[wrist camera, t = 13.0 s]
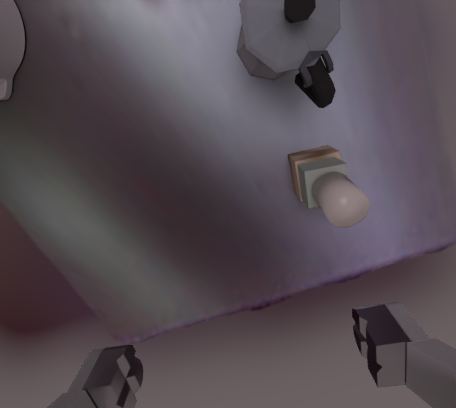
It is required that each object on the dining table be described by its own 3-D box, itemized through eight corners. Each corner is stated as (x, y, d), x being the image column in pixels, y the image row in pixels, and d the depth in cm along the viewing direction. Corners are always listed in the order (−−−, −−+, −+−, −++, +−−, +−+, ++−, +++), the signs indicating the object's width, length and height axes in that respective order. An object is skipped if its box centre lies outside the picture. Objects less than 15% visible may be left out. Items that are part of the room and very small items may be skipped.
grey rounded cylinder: (307, 202, 35) (321, 225, 30) (319, 168, 32) (336, 188, 28) (340, 206, 35) (358, 229, 31) (355, 174, 33) (377, 194, 29)
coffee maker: (214, 19, 35) (198, -49, 19) (274, -28, 33) (316, -150, 17) (272, 120, 40) (301, 138, 23) (327, 83, 38) (403, 75, 21)
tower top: (301, 197, 39) (308, 208, 35) (297, 164, 37) (304, 171, 34) (337, 190, 39) (348, 201, 35) (334, 156, 37) (345, 163, 33)
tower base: (293, 190, 44) (300, 201, 39) (287, 154, 42) (294, 161, 37) (331, 182, 43) (343, 192, 39) (327, 145, 41) (339, 151, 37)
